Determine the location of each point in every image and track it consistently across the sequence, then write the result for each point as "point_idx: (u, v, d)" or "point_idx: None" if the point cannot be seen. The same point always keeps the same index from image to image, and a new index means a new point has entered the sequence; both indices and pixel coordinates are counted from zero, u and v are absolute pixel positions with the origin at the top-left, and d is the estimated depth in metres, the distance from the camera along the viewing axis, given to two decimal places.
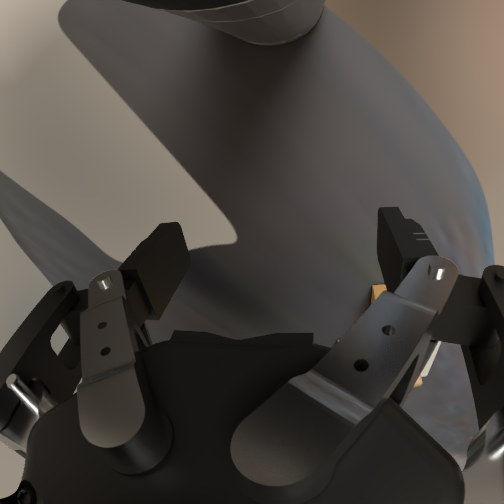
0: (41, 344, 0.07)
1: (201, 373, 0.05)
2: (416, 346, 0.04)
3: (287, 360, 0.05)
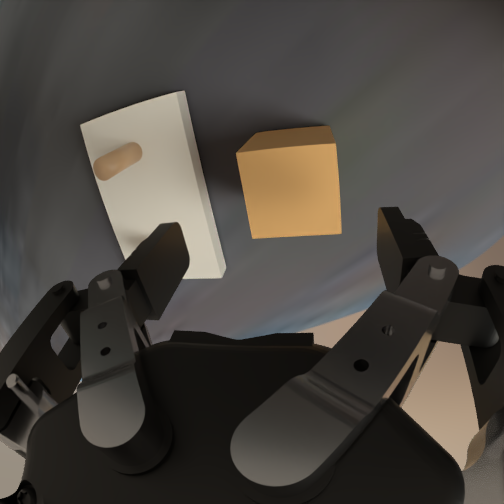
0: (41, 344, 0.07)
1: (201, 373, 0.05)
2: (416, 346, 0.04)
3: (287, 360, 0.05)
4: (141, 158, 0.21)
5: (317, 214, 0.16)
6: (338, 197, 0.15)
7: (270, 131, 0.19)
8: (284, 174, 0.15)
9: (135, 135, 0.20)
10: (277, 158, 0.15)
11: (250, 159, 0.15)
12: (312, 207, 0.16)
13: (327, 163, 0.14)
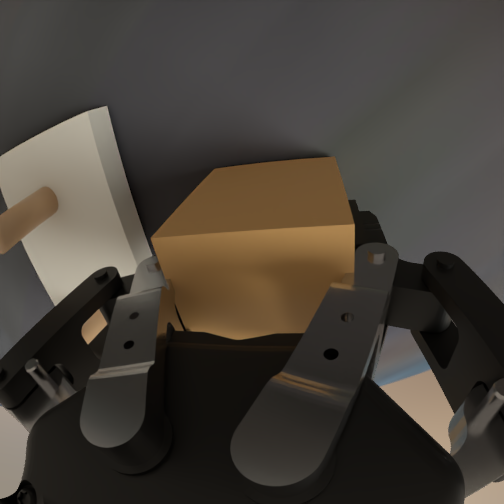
0: (70, 331, 0.07)
1: (201, 373, 0.05)
2: (378, 326, 0.05)
3: (287, 360, 0.05)
4: (57, 209, 0.13)
5: None
6: None
7: (236, 167, 0.12)
8: (244, 281, 0.08)
9: (46, 177, 0.12)
10: (229, 252, 0.07)
11: (178, 250, 0.08)
12: (299, 332, 0.08)
13: (332, 264, 0.07)
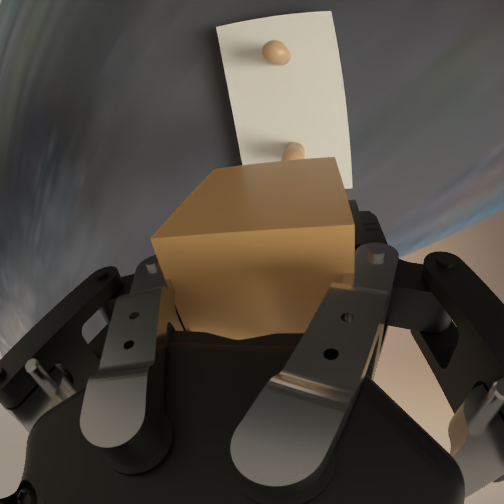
0: (71, 331, 0.07)
1: (201, 373, 0.05)
2: (378, 326, 0.05)
3: (287, 360, 0.05)
4: (288, 62, 0.20)
5: None
6: None
7: (236, 167, 0.12)
8: (244, 281, 0.08)
9: (284, 41, 0.19)
10: (229, 252, 0.07)
11: (178, 250, 0.08)
12: None
13: (332, 264, 0.07)
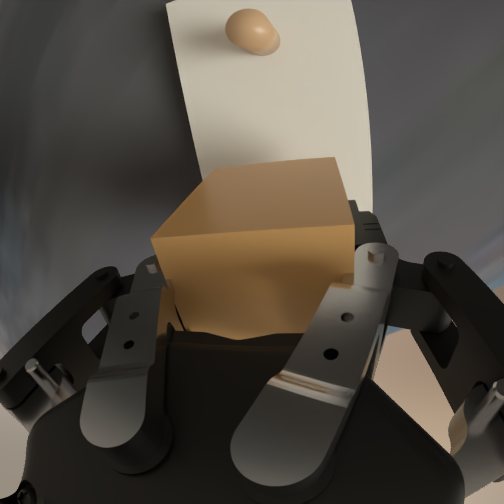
0: (70, 331, 0.07)
1: (201, 373, 0.05)
2: (378, 326, 0.05)
3: (287, 360, 0.05)
4: (276, 50, 0.12)
5: None
6: None
7: (236, 167, 0.12)
8: (244, 281, 0.08)
9: (271, 17, 0.11)
10: (229, 252, 0.07)
11: (178, 250, 0.08)
12: None
13: (333, 264, 0.07)
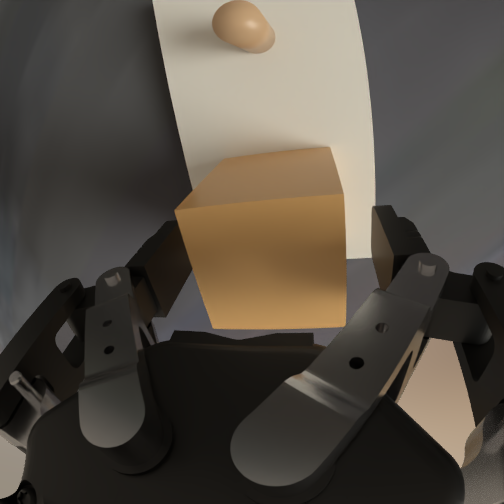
0: (46, 341, 0.07)
1: (201, 373, 0.05)
2: (410, 342, 0.04)
3: (287, 360, 0.05)
4: (271, 47, 0.11)
5: (309, 302, 0.10)
6: (344, 279, 0.09)
7: (243, 157, 0.14)
8: (253, 245, 0.09)
9: (265, 11, 0.10)
10: (242, 219, 0.09)
11: (197, 220, 0.09)
12: (301, 293, 0.10)
13: (327, 228, 0.09)
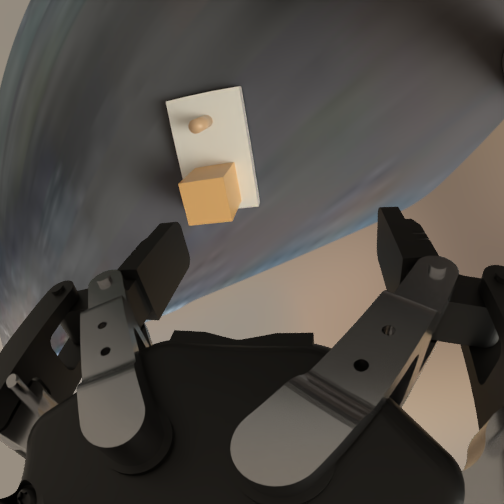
0: (41, 344, 0.07)
1: (201, 373, 0.05)
2: (416, 346, 0.04)
3: (287, 360, 0.05)
4: (211, 125, 0.33)
5: (218, 211, 0.32)
6: (227, 203, 0.32)
7: (202, 167, 0.36)
8: (200, 193, 0.32)
9: (208, 110, 0.32)
10: (197, 185, 0.31)
11: (184, 186, 0.31)
12: (215, 208, 0.32)
13: (220, 187, 0.31)
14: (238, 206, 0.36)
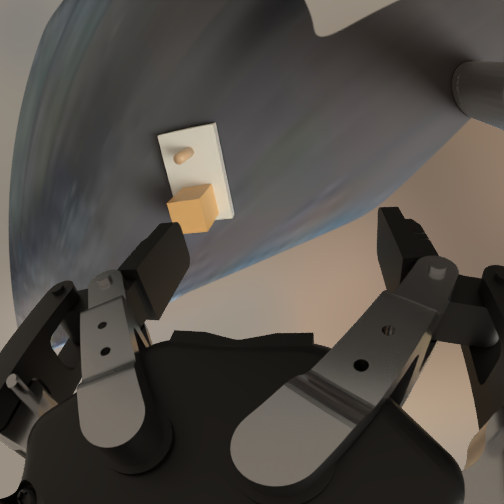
0: (41, 344, 0.07)
1: (201, 373, 0.05)
2: (416, 346, 0.04)
3: (287, 360, 0.05)
4: (193, 155, 0.43)
5: (197, 224, 0.42)
6: (203, 218, 0.42)
7: (187, 187, 0.46)
8: (183, 210, 0.42)
9: (190, 143, 0.42)
10: (180, 204, 0.41)
11: (171, 205, 0.41)
12: (195, 221, 0.42)
13: (197, 206, 0.41)
14: (215, 218, 0.46)
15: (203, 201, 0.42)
